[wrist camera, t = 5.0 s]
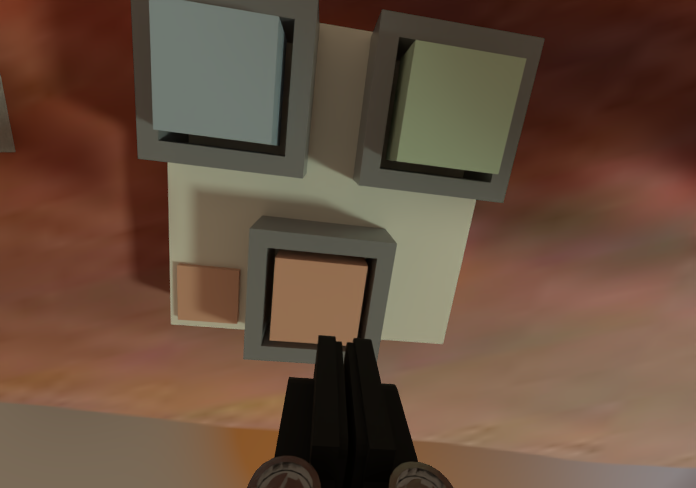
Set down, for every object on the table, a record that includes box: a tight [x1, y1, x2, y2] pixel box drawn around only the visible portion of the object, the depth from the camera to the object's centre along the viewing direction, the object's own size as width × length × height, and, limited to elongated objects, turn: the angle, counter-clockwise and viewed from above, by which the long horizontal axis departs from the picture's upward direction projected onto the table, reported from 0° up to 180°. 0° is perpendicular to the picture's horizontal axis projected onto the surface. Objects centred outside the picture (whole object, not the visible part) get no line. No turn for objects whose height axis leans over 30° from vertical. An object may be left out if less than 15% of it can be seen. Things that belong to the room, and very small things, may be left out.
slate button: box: [149, 0, 287, 146], centre depth 12 cm, size 4×4×2 cm
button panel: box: [131, 0, 545, 364], centre depth 17 cm, size 16×16×6 cm
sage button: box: [385, 40, 526, 174], centre depth 13 cm, size 4×4×2 cm
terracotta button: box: [270, 249, 368, 346], centre depth 16 cm, size 4×4×2 cm
